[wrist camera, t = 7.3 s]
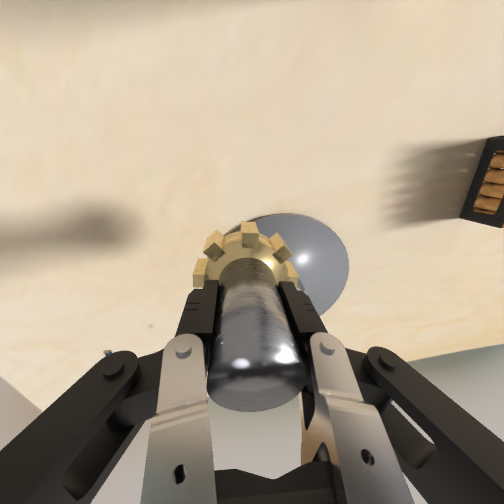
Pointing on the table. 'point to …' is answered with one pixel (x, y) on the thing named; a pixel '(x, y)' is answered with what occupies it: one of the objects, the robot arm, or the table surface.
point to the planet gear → (250, 321)
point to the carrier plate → (311, 255)
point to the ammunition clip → (487, 187)
